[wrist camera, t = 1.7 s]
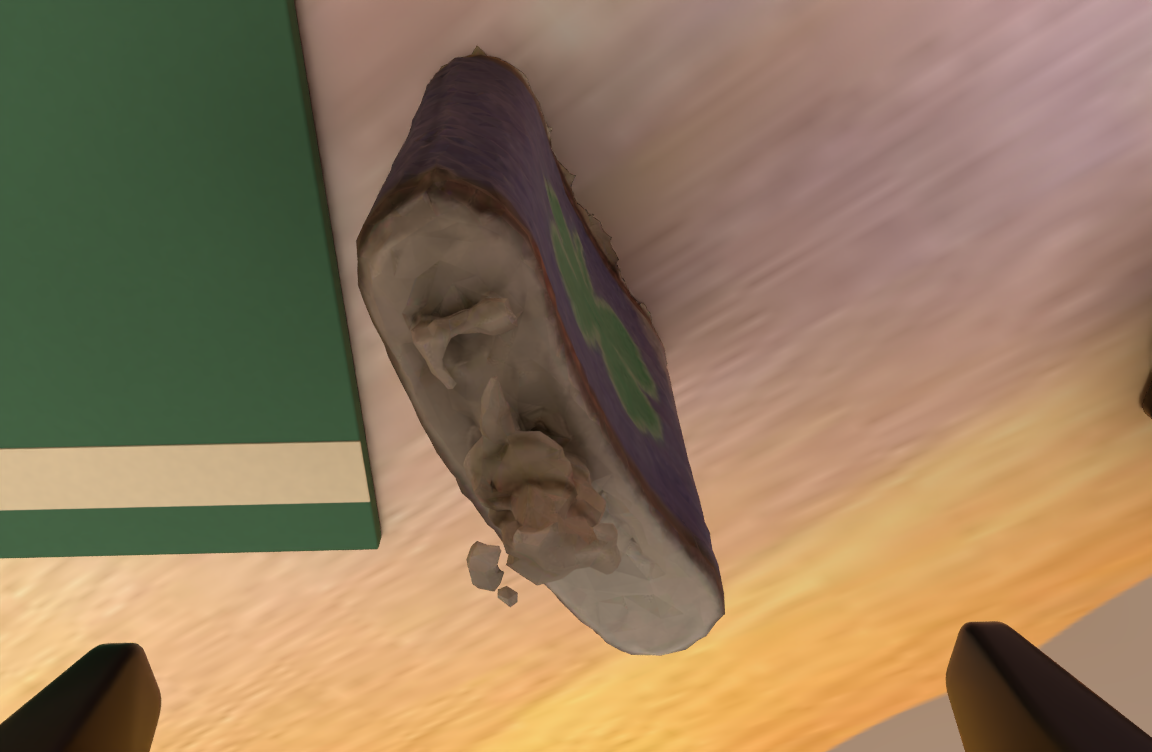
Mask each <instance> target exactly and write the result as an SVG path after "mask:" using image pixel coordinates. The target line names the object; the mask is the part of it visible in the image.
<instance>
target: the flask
mask: <svg viewBox="0 0 1152 752" xmlns="http://www.w3.org/2000/svg"><path fill="white" fill-rule="evenodd" d="M551 131H552V127H550V128H549V127H548V126H547V124H546V122H545V120H544V117H543V115H542V113H541V109H540V104H539V102H538V101H537V99H536V98H535V96H534V94H533V92H532V91H531V89H530V87H529V84H528V80H527V78H526V76H525V75H524V74H523V73H522V72H521V71H520V70H518V69H516V68H515V67H514V66H512V65H511V64H509V63H507V62H505V61H502V60H501V59H499V58H496V57H491V56H487V55H486V54H485V53H484V52H483V51H482V50H481V49H480V48H479V47H478V46H476V48H475V50H474V51H473V53H472V55H469V56H466V57H459V58H454V59H453V60H452V61H451V62H450V63H448V64H446V65H444V66H442V67H441V68H440V70H439V71H438V72H437V73H436V74H435V75H434V77H433V79H431V81H430V83H429V84H428V85H427V87H426V90H425V93H424V96H423V99H422V102H421V104H420V106H419V108H418V110H417V112H416V114H415V116H414V118H413V120H412V125H411V129H410V132H409V135H408V137H407V139H406V141H405V142H404V144H403V146H402V148H401V150H400V152H399V153H398V155H397V157H396V159H395V161H394V163H393V164H392V168H391V171H390V173H389V175H388V177H387V179H386V181H385V183H384V184H383V186H382V188H381V190H380V192H379V194H378V197H377V199H376V201H375V203H374V205H373V207H372V209H371V211H370V213H369V215H368V217H367V219H366V221H365V223H364V225H363V227H362V229H361V231H360V234H359V236H358V238H357V240H356V243H357V258H358V269H357V272H358V286H359V289H360V292H361V294H362V297H363V300H364V303H365V305H366V308H367V310H368V312H369V315H370V317H371V320H372V322H373V324H374V326H375V328H376V330H377V332H378V333H379V335H380V337H381V339H382V341H383V343H384V345H385V348H386V351H387V354H388V357H389V359H390V361H391V363H392V365H393V367H394V369H395V371H396V373H397V375H398V377H399V379H400V381H401V383H402V385H403V387H404V389H405V391H406V393H407V395H408V397H409V398H410V400H411V402H412V404H413V407H414V409H415V411H416V414H417V416H418V418H419V420H420V423H421V424H422V426H423V428H424V430H425V431H426V433H427V435H428V437H429V438H430V440H431V442H432V444H433V446H434V448H435V450H436V452H437V453H438V455H439V456H440V458H441V459H442V460H443V462H444V463H445V465H446V466H447V468H448V469H449V470H450V472H451V473H452V474H453V475H454V476H455V478H456V480H457V483H458V485H459V487H460V490H461V492H462V494H464V495H465V496H466V497H467V498H468V499H469V500H471V502H472V503H473V504H474V506H475V507H476V509H477V510H478V511H479V513H480V514H481V516H482V517H483V518H484V520H485V522H486V523H487V524H488V525H489V526H490V527H491V528H493V529H494V530H495V532H496V533H497V535H498V536H499V538H500V539H501V541H502V542H503V544H504V547H505V550H506V553H507V554H509V555H508V560H507V564H506V565H507V566H509V567H510V568H512V569H513V570H514V571H516V572H517V573H519V574H520V575H522V576H523V577H525V578H526V579H528V580H529V581H531V582H533V583H534V584H536V585H541V584H545V585H546V586H547V587H548V588H549V589H550V590H551V591H552V592H553V593H554V594H555V595H556V596H557V598H558V599H559V600H560V601H561V602H562V603H563V604H564V605H565V606H566V607H567V608H568V609H569V610H570V611H571V612H572V613H573V614H574V615H575V616H576V617H577V618H578V619H579V620H580V621H581V622H582V623H584V624H585V625H587V626H588V627H590V628H591V629H593V630H594V631H595V632H596V633H597V634H599V635H600V636H601V637H602V638H603V639H604V641H605V642H606V643H608V644H610V645H611V646H613V647H615V648H617V649H619V650H621V651H623V652H626V653H628V654H631V655H665V654H669V653H673V652H677V651H682V650H686V649H687V648H688V647H690V646H691V645H693V644H694V643H695V642H696V641H698V640H699V639H701V638H703V637H705V636H707V634H708V633H709V632H710V630H711V629H712V627H713V626H714V625H715V623H716V622H717V621H718V620H719V619H720V618H721V617H722V616H723V615H724V614H725V605H724V591H723V586H722V581H721V576H720V571H719V566H718V563H717V560H716V558H715V555H714V553H713V550H712V545H711V539H710V532H709V530H708V528H707V526H706V524H705V522H704V516H703V512H702V508H701V504H700V500H699V496H698V493H697V489H696V486H695V482H694V479H693V475H692V471H691V467H690V464H689V461H688V457H687V453H686V448H685V444H684V440H683V436H682V431H681V427H680V423H679V419H678V415H677V411H676V406H675V401H674V396H673V391H672V387H671V381H670V377H669V373H668V370H667V361H666V355H665V350H664V346H663V345H662V343H661V341H660V339H659V337H658V335H657V334H656V332H655V330H654V328H653V326H652V323H651V317H650V312H649V311H647V310H646V306H645V305H644V304H643V303H640V305H639V304H638V303H636V300H635V299H634V298H633V297H632V296H631V295H630V293H629V290H628V288H627V286H626V284H625V281H624V279H623V278H621V274H620V269H619V268H618V265H616V263H617V262H618V260H619V259H618V257H617V255H616V253H615V252H614V250H613V249H612V247H611V244H610V240H611V237H610V236H608V235H607V234H606V233H605V232H604V231H603V228H602V225H601V223H600V221H598V220H597V219H595V218H594V217H593V216H594V214H593V215H590V216H588V212H587V210H584V209H583V208H582V207H581V206H580V205H579V204H577V203H576V200H575V198H574V195H573V192H572V190H571V185H572V182H573V180H574V178H575V175H573V174H570V173H569V172H568V171H567V169H565V168H564V167H563V166H562V165H561V164H560V163H559V162H558V161H557V159H556V157H555V155H554V153H553V151H552V149H551V139H550V134H549V132H551ZM500 553H501V550H500V547H499V546H492V545H486V544H483V543H481V542H478V541H477V542H476V543H474V544H473V545H472V546H471V549H470V551H469V554H468V557H467V564H468V568H469V572H470V576H471V580H472V583H473V585H475V586H476V587H477V588H480V589H485V590H489V591H495V590H496V589H497V587H498V586H499V585H500V583H501V580H502V577H503V574H504V572H503V571H501V570H500V569H499V567H498V565H497V564H498V560H499V556H500ZM517 594H518V593H517V592H515V591H514V590H512V589H511V588H509V587H507V586H505V587H503V588H501V589H498V598H499V599H500V600H502V601H503V602H504V603H506V604H507V605H508V606H510V607H511V606H513V605H514V604H515V603H517Z"/></svg>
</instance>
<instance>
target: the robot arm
mask: <svg viewBox="0 0 1152 752" xmlns="http://www.w3.org/2000/svg"><path fill="white" fill-rule="evenodd" d="M1142 408H1143V410H1144V412H1145V413H1146V414H1147V415H1148V416H1149V417H1150V418H1151V419H1152V381H1151V384H1150V386H1149V389H1148V391H1147V394H1146V396H1145V399H1144V401H1143V406H1142ZM946 687H947V693H948V696H949V700H950V703H951V706H952V710H953V713H954V716H955V719H956V723H957V726H958V729H959V733H960V736H961V739H962V743H963V746H964V749H965V752H1152V737H1150V736H1149V735H1148V734H1146V733H1145V732H1144V731H1143V730H1141V729H1140V728H1139V727H1137V726H1136V725H1135V724H1134V723H1133V722H1131V721H1130V720H1129V719H1127V718H1126V717H1125V716H1124V715H1122V714H1121V713H1120V712H1118V711H1117V710H1116V709H1114V708H1113V707H1112V706H1111V705H1109V704H1108V703H1107V702H1106V701H1104V700H1103V699H1102V698H1101V697H1099V696H1098V695H1097V694H1095V693H1094V692H1093V691H1091V690H1090V689H1089V688H1087V687H1086V686H1085V685H1084V684H1083V683H1081V682H1080V681H1078V680H1077V679H1076V678H1075V677H1074V676H1072V675H1071V674H1070V673H1068V672H1067V671H1066V670H1065V669H1063V668H1062V667H1061V666H1060V665H1058V664H1057V663H1056V662H1054V661H1053V660H1052V659H1051V658H1049V657H1048V656H1047V655H1045V654H1044V653H1043V652H1042V651H1040V650H1039V649H1038V648H1037V647H1035V646H1034V645H1033V644H1031V643H1030V642H1029V641H1028V640H1026V639H1025V638H1024V637H1022V636H1021V635H1020V634H1019V633H1017V632H1016V631H1015V630H1014V629H1012V628H1011V627H1009V626H1008V625H1006V624H1004V623H1002V622H996V621H990V622H968V623H966V624H964V625H963V626H962V627H961V629H960V631H959V634H958V637H957V640H956V643H955V646H954V649H953V652H952V655H951V658H950V661H949V664H948V667H947V672H946ZM160 709H161V694H160V690H159V687H158V685H157V682H156V680H155V677H154V674H153V672H152V669H151V667H150V664H149V662H148V659H147V657H146V654H145V652H144V650H143V648H142V647H141V646H139V645H138V644H136V643H108V644H102V645H99V646H97V647H95V648H93V649H92V650H90V651H89V652H88V653H87V654H85V655H84V656H83V657H82V658H81V659H79V660H78V661H77V662H76V663H74V664H73V665H72V666H71V667H70V668H68V669H67V670H66V671H65V672H63V673H62V674H61V675H60V676H59V677H57V678H56V679H55V680H54V681H53V682H51V683H50V684H49V685H48V686H46V687H45V688H44V689H43V690H42V691H40V692H39V693H38V694H37V695H35V696H34V697H33V698H32V699H31V700H29V701H28V702H27V703H26V704H24V705H23V706H22V707H21V708H20V709H18V710H17V711H16V712H15V713H14V714H12V715H11V716H10V717H9V718H7V719H6V720H5V721H4V722H3V723H1V724H0V752H149V751H150V748H151V744H152V741H153V737H154V733H155V730H156V726H157V722H158V719H159V715H160Z"/></svg>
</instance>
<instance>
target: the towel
mask: <svg viewBox="0 0 1152 752" xmlns="http://www.w3.org/2000/svg"><path fill="white" fill-rule="evenodd" d="M380 540H381V530H380V523H379V517H378V511H377V505H376V499H375V493H374V487H373V481H372V475H371V469H370V462H369V456H368V450H367V444H366V438H365V432H364V426H363V420H362V414H361V407H360V401H359V395H358V389H357V383H356V377H355V371H354V365H353V359H352V352H351V346H350V340H349V334H348V328H347V322H346V316H345V310H344V304H343V297H342V291H341V285H340V279H339V273H338V267H337V261H336V255H335V249H334V242H333V236H332V230H331V224H330V218H329V212H328V206H327V200H326V194H325V187H324V181H323V175H322V169H321V163H320V157H319V151H318V145H317V139H316V132H315V126H314V120H313V114H312V108H311V102H310V96H309V90H308V84H307V77H306V71H305V65H304V59H303V53H302V47H301V41H300V35H299V29H298V22H297V16H296V10H295V4H294V0H0V558H36V557H77V556H118V555H159V554H200V553H241V552H282V551H323V550H364V549H378V547H379V544H380Z"/></svg>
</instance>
